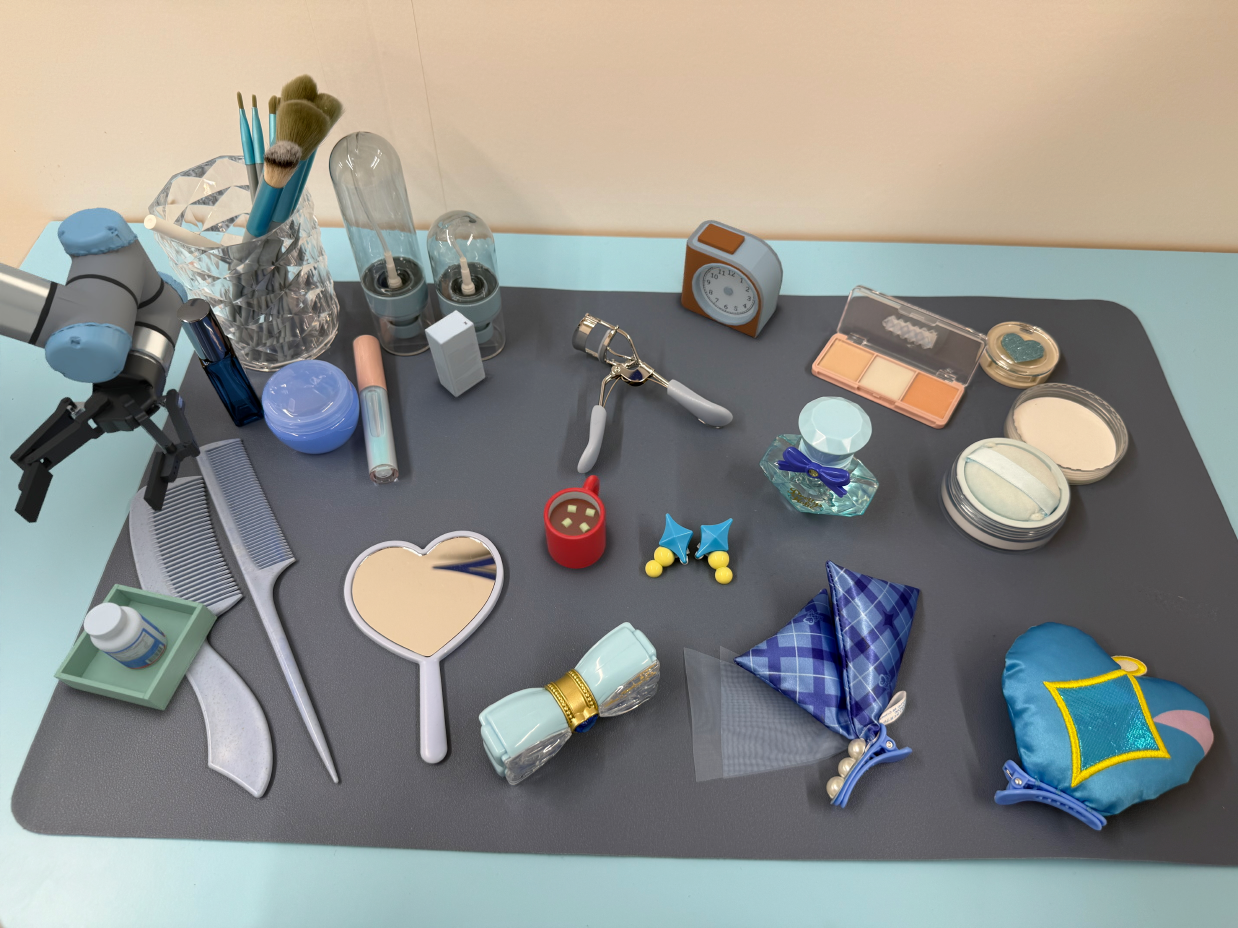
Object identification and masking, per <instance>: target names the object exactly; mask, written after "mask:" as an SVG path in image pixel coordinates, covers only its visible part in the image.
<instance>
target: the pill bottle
mask: <svg viewBox="0 0 1238 928" xmlns="http://www.w3.org/2000/svg"><path fill="white" fill-rule="evenodd" d="M83 629H84V630H85V631H86V632H87V633H88V634H90V637H91V641H92V643H93V644H94V645H95V646H96V647H97V648H98V649H100V650H101V651H103V652H104V653H106V654H107V655H109V656H111V657H112V658H114V659H115V660H117V661H118V662H120V663H121V664H123V665H124V666H126V667H128V668H130V669H144V668H147V667H149V666H151V665H153V664H154V663H156V662H157V661H158V660H159V659H160V658H161V656H162V655H163V653H164V652H165V649H166V646H167V639H166V636H165V634H164V633H163V632H162V631H161V630H160V629H159V628H158V627H156V626H155V625H154V624H152V623H151V622H150V621H149V620H147V619H146V618H145V617H144V616H142V615H141V614H140V613H139V612H137V611H136V610H134V609H133V608H130V607H126V606H118V605H117V604H114V603H103V602H101V603H100V604H98V605H95V606H94V607H92V608H91V609H90V611H88V612H87V614H86V616H85V618H84V619H83Z"/></svg>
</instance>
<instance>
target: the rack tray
mask: <svg viewBox="0 0 1238 928" xmlns="http://www.w3.org/2000/svg"><path fill="white" fill-rule="evenodd" d="M102 603H114V604H117V605H118V606H126V607H130V608H133V609H134V610H136V611H137V612H139V613H140V614H141V615H142V616H144V617H145V618H146V619H147V620H149V621H150V622H151V623H152V624H154V625H155V626H156V627H158V628H159V629H160V630H161V631H162V632H163V633H164V634H165V636H166V639H167V646H166V649H165V652H164V653H163V655H162V656H161V658H160V659H159V660H158V661H157V662H156V663H154V664H153V665H151V666H149V667H147V668H144V669H130V668H128V667H126V666H124V665H123V664H121V663H120V662H118V661H117V660H115V659H114V658H112V657H111V656H109V655H107V654H106V653H104V652H103V651H101V650H100V649H98V648H97V647H96V646H95V645H94V644H93V643H92V641H91V637H90V634H88V633H87V632H86V631H85V629H84V630H83V631H82V632H81V634H80V636H79V637H78V639H77V640H76V641H75V643H74V644H73V646H72V647H71V649H70V650H69V652H68V653H67V655H66V657H65V658H64V659H63V660H62V662H61V664H59V667H58V668H57V670H56V671H55V673H54V674H53V677H54V678H55V679H57V680H59V681H60V682H62V683H64V684H66V685H67V686H69V687H71V688H72V689H75V690H80V691H83V692H88V693H92V694H95V695H100V696H104V697H108V698H112V699H116V700H120V701H124V702H128V703H131V704H134V705H135V704H136V705H140V706H142V707H143V706H144V707H148V708H151V709H155V710H160V711H162V712H163V711H165V710H166V709H167V706H168V704H169V703H170V701H171V700H172V697H173V696H174V694H175V692H176V691H177V689H178V687H179V686H180V684H181V683H182V680H183V678H184V676H185V674H186V673H187V671H188V670H189V668H190V666H191V664H192V662H193V661H194V659H195V657H196V656H197V654H198V652H199V650H200V648H201V646H202V645H203V643H204V642H205V639H206V638H207V636H208V634H209V632H210V631H211V629H212V627H213V626H214V624H215V622H216V620H217V619H218V616H216V615H215V614H214V613H213V611H212V610H210V609H209V607H208V606H207V605H205V604H204V603H201V602H197V601H193V600H189V599H184V598H180V597H177V596H176V597H175V596H171V595H166V594H162V593H158V592H154V591H151V590H145V589H141V588H138V587H131V586H127V585H123V584H118V583H114V585H113V586H112V588H111V589H110V591H109V592H108V594H107V595H106V597H105V598H104V599H103V601H102Z"/></svg>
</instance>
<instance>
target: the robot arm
mask: <svg viewBox="0 0 1238 928" xmlns="http://www.w3.org/2000/svg"><path fill="white" fill-rule="evenodd" d="M56 235H57V237H58V240H59V243H60V244H61V246H62V248H63V251H64V253H65V254H66V255H68V256H69V257H70V259H71V263H70V268H69V270H68V274H67V277H66V281H65V284H62V283H59V282H57V281H54V280H50V279H47V278H45V277H42V276H39V275H35V274H34V273H30V272H29V271H28V272H27V271H25V270H22V269H20V268H16V267H14V266H11V265H8V264H6V263H3V262H0V336H3V337H7V338H10V339H13V340H16V341H19V342H22V343H26V344H27V345H31V346H34V347H37V348H40V349H43V350H44V357H45V360H46V363H47V364H48V366H49V368H51V369H52V370H53V371H54V372H58V373H60V374H61V375H62V376H63V378H66V379H68V380H71V381H73V382H78V383H85V384H92V386H91V387H92V390H91V395H90V396H89V398H87V399H86V400H85V401H73V399H72V398H71V397H70V396H65V397H62V398H61V399H60V400H59V403H58V404H57V407H56V408H55V410H54V412H53V413H51V415H49V417H47V418H46V419H45V421H44V422H42V424H40V426H38V427H37V428H36V429H35V431H33V433H31V434H30V435H29V437H27V438H26V439H25V440H24V441H23V442H22V443H21V444H20V445H19V446H18V447H17V448H16V449H15V450H14V451H13V452H12V453H11V454H10V456H9V460H11V461H12V462H13V463H14V464H15V465H16V466H17V467H18V468H19V469H21V470H22V475H21V476H20V480H19V482H18V485H17V487H18V488H17V489H18V490H19V491H20V494H19V497H18V499H17V502H16V505H15V507H14V512H15V513H16V514H18V515H19V516H20V517H21V518H23V520H25V521H26V522H27V523H29V524H33V523H37V522H38V518H39V516H40V513H41V511H42V508H43V505H44V502H45V500H46V497H47V494H48V492H49V488H50V485H51V483H52V481H53V478H54V474H53V473H51V471H50V470H52V469H53V468H55V467H56V466H58V465H59V464H60V463H61V462H63V461H64V460H66V459H67V458H68V457H70V456H71V455H72V454H74V453H75V452H76V451H77V450H79V449H80V448H81V447H83V446H84V445H86V444H87V443H88V442H89V441H91V440H97V439H99V438H100V437H102V436H103V435H105V433H106V434H115V433H118V432H119V433H120V432H125V433H130V432H134V431H135V430H136V429H138V428H140V427H141V428H142V429H143V430H144V432H145V433H146V434H147V435H148V436H150V437H151V439H152V440H153V441H154V442H155V443H156V444H157V445H158V446H159V447H160V448H161V450H162V451H156V452H155V454H154V458H153V462H152V465H151V468H150V473H149V476H148V479H147V483H146V486H145V487H146V488H145V491H144V494H143V498H142V499H143V500H144V502H146V504H147V505H148V506H149V507H150V508H151V509H152V510H153V511H154V512H162V510H163V506H164V502H165V500H166V499H165V498H166V495H167V491H168V487H169V485H170V484H173V483H175V482H176V481H177V478H178V474H179V470H180V466H181V463H182V462H183V461H184V460H185V459H186V458H188V457H191V458H198V457H199V456H200V455H201V454H202V453H201V449H200V447H199V445H198V442H197V441H196V438H195V435H194V432H193V430H192V428H191V427H190V424H189V422H188V420H187V417H186V414H185V410H186V402H185V400H184V399H183V398H182V396H181V395H180V393H179V392H178V390H177V389H176V388H170V389H168V390H167V391H166V394H164V392H165V388H166V385H167V378H168V376H169V373H170V370H171V367H172V362H173V359H174V356H175V352H176V346H177V343H178V340H179V337H180V334H181V331H182V328H183V325H184V323H183V324H182V323H181V322H180V321H179V319H178V317H177V311H178V309H179V308H180V307H181V305H183V304H184V303H186V302H188V303H189V296H188V292H187V289H186V288H185V287H184V285H183V284H182V283H181V282H180V281H178V280H176V279H175V278H174V277H173V276H172V275H170V274H168V273H166V272H163V271H160V270H157V268H156V267H155V265H154V264H153V262H152V260H151V259H150V257H149V255H148V254H147V253H148V252H146V250H145V248H144V246H143V245H142V243H141V241H140V240H139V237H138V234H137V233H135V232H134V230H133V229H132V227H131V226H130V225H129V224H128V222H127V221H126V219H125V218H124V217H123V215H122V214H120V213H119V212H117V211H115V210H113V209H111V208H107V207H94V208H85V209H81V210H79V211H76V212H74V213H72V214H70V215H68V216H67V217H66V218H65V219H64V220H62V222H61V223H60V224H59V226H58V228H57V234H56ZM163 394H164V395H163ZM161 408H163V410H164V411H165V412H167V413H168V416H169V418H170V420H171V422H172V425H173V427H174V429H175V433H176V434H177V436H178V439H179V441H180V442H178V443H174V441H172V440H171V439H170V438H169V436H168V435H166V433H165V432H164V431H163V430H162V429H161V428H160V427H159V426H158V425H157V424H156V422H154V421H153V420H152V417H153V416H154V415H155V414H156V413H158V412H159V411H160V409H161ZM90 421H92V422H93V423H94V424H95V425H96V426H94V427H93V426H91V425H90V423H89V422H90Z"/></svg>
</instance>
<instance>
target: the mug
mask: <svg viewBox="0 0 1238 928" xmlns="http://www.w3.org/2000/svg"><path fill="white" fill-rule="evenodd" d="M599 494H600V479H599V477H598V475H595V474H591V475H589V476H588V477H586V479H585V481H584V483H583V485H582V487H567V488H564V489H561V490H559V491H557V492H556V493H554V494H553V495H551V497H549V499H548V500H547V501H546V503H545V506H544V509H543V522H544V529H545V535H546V543H547V549H548V553H549V555H550V556H551V558H552V559H553V560H554V561H555V562H556V563H557V564H558V565H560V566H562V567H564V568H566V569H567V568H569V569H577V570H578V569H583V568H587V567H590V566H592V565H593V564H595V563H596V562H597V561H598V560H599V559H600V558H601V557H602V555H603V554H604V552H605V549H606V509H605V504H604V503H603V501H602V500H601V498H600V497H599Z"/></svg>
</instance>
